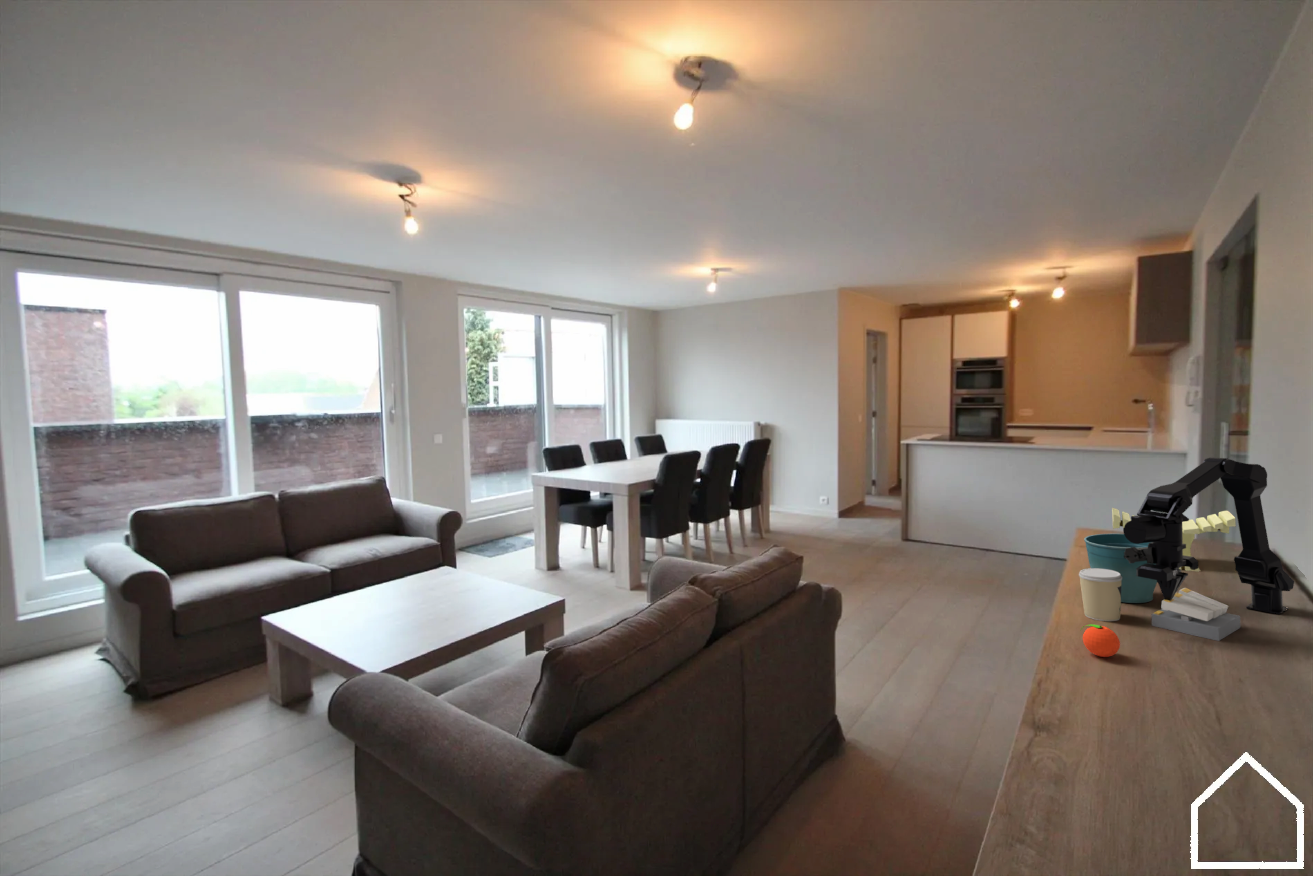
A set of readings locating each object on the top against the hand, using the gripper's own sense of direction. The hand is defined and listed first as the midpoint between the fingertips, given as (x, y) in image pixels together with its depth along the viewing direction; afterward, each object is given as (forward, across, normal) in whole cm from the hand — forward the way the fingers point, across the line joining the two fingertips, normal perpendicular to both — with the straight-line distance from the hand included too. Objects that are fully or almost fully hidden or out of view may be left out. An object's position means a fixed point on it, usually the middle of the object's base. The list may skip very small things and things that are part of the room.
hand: (1167, 600), depth 149 cm
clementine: (+8, +29, -2) cm, 30 cm away
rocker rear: (+1, -9, +4) cm, 10 cm away
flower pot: (+7, -17, -16) cm, 24 cm away
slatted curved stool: (+6, -63, -22) cm, 67 cm away
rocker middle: (+1, -4, +4) cm, 6 cm away
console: (+7, -5, +4) cm, 9 cm away
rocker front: (+1, 0, +4) cm, 4 cm away
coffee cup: (+7, +3, -13) cm, 16 cm away
